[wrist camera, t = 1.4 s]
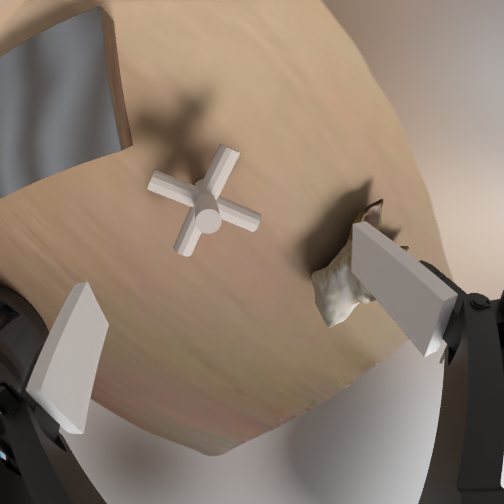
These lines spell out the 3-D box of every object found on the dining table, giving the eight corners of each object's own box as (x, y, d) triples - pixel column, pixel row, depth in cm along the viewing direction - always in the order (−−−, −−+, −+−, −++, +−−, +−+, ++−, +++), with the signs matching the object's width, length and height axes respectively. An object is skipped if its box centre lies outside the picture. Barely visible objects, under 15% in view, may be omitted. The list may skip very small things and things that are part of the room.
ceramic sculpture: (309, 314, 27) (413, 209, 25) (280, 273, 35) (366, 188, 33) (354, 353, 32) (438, 268, 30) (324, 314, 40) (397, 242, 38)
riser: (12, 190, 23) (-11, 203, 19) (-7, 81, 17) (-32, 80, 12) (133, 145, 25) (121, 150, 21) (113, 21, 18) (100, 6, 14)
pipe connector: (140, 213, 28) (120, 257, 20) (178, 123, 25) (171, 125, 16) (225, 245, 32) (240, 298, 23) (268, 164, 29) (302, 187, 20)
